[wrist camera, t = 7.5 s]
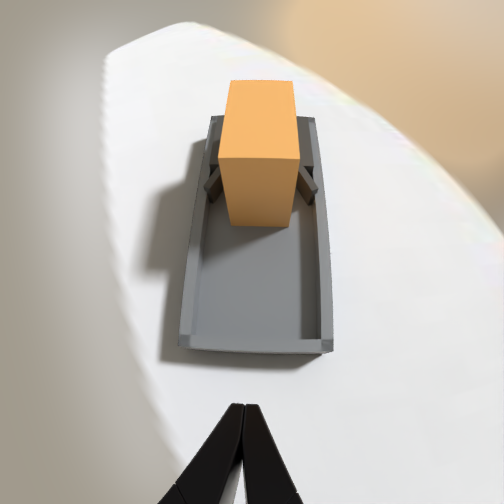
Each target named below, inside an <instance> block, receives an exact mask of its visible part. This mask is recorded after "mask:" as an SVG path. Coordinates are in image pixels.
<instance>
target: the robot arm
mask: <svg viewBox="0 0 504 504" xmlns="http://www.w3.org/2000/svg"><path fill="white" fill-rule="evenodd" d="M242 460H243V476H244V488H245V499H246V504H303V502H302V500H301V498H300V496H299V493H296V492H297V490H296V488H295V485H294V483H293V481H292V479H291V477H290V475H289V473H288V470H287V468H286V466H285V464H284V462H283V460H282V457H281V455H280V453H279V451H278V448H277V446H276V444H275V442H274V439H273V437H272V435H271V433H270V430H269V428H268V426H267V423H266V421H265V419H264V416H263V414H262V412H261V409H260V407H259V405H257V404H246V405H244V404H239V403H232V404H231V405H230V406H229V407H228V409H227V410H226V412H225V413H224V415H223V416H222V418H221V419H220V421H219V422H218V424H217V425H216V427H215V428H214V429H213V431H212V432H211V434H210V435H209V437H208V438H207V439H206V441H205V442H204V444H203V445H202V447H201V448H200V449H199V451H198V452H197V454H196V455H195V456H194V458H193V459H192V460H191V462H190V463H189V464H188V466H187V467H186V469H185V470H184V471H183V473H182V474H181V475H180V477H179V478H178V479H177V481H176V482H175V483H176V484H173V486H172V487H171V488H170V489H169V491H168V492H167V493H166V494H165V496H164V497H163V498H162V499H161V500H160V501H159V503H158V504H233V503H234V499H235V494H236V490H237V485H238V481H239V477H240V472H241V467H242Z"/></svg>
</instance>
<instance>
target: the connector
mask: <svg viewBox="0 0 504 504" xmlns="http://www.w3.org/2000/svg"><path fill="white" fill-rule="evenodd" d="M218 161H219V166H220V171H221V177H222V182H223V187H224V192H225V197H226V203H227V208H228V213H229V218H230V223H231V226H264V227H289V223H290V217H291V212H292V206H293V200H294V194H295V188H296V182H297V175H298V169H299V163H300V152H299V141H298V129H297V119H296V109H295V100H294V91H293V82H292V81H276V80H233V81H231V82H230V87H229V93H228V98H227V104H226V110H225V116H224V122H223V128H222V134H221V141H220V147H219V154H218Z"/></svg>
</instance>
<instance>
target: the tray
mask: <svg viewBox="0 0 504 504" xmlns="http://www.w3.org/2000/svg"><path fill="white" fill-rule="evenodd" d="M224 116H225V115H221V116H211V121H210V126H209V130H208V135H207V140H206V145H205V151H204V156H203V161H202V167H201V172H200V178H199V183H198V189H197V195H196V201H195V208H194V214H193V221H192V227H191V234H190V241H189V249H188V256H187V264H186V272H185V280H184V289H183V298H182V308H181V318H180V329H179V340H178V346H180V347H183V348H186V349H194V350H206V351H221V352H238V353H264V354H325V353H329V352H332V351H333V300H332V277H331V260H330V245H329V232H328V221H327V210H326V200H325V191H324V182H323V174H322V166H321V158H320V151H319V144H318V137H317V130H316V124H315V118H312V117H300V116H296V119H297V129H298V141H299V152H300V163H299V169H298V175H297V182H296V188H295V194H294V200H293V206H292V212H291V217H290V223H289V227H264V226H231V223H230V218H229V213H228V208H227V203H226V197H225V192H224V187H223V182H222V177H221V171H220V166H219V161H218V154H219V147H220V141H221V134H222V128H223V122H224Z"/></svg>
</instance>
